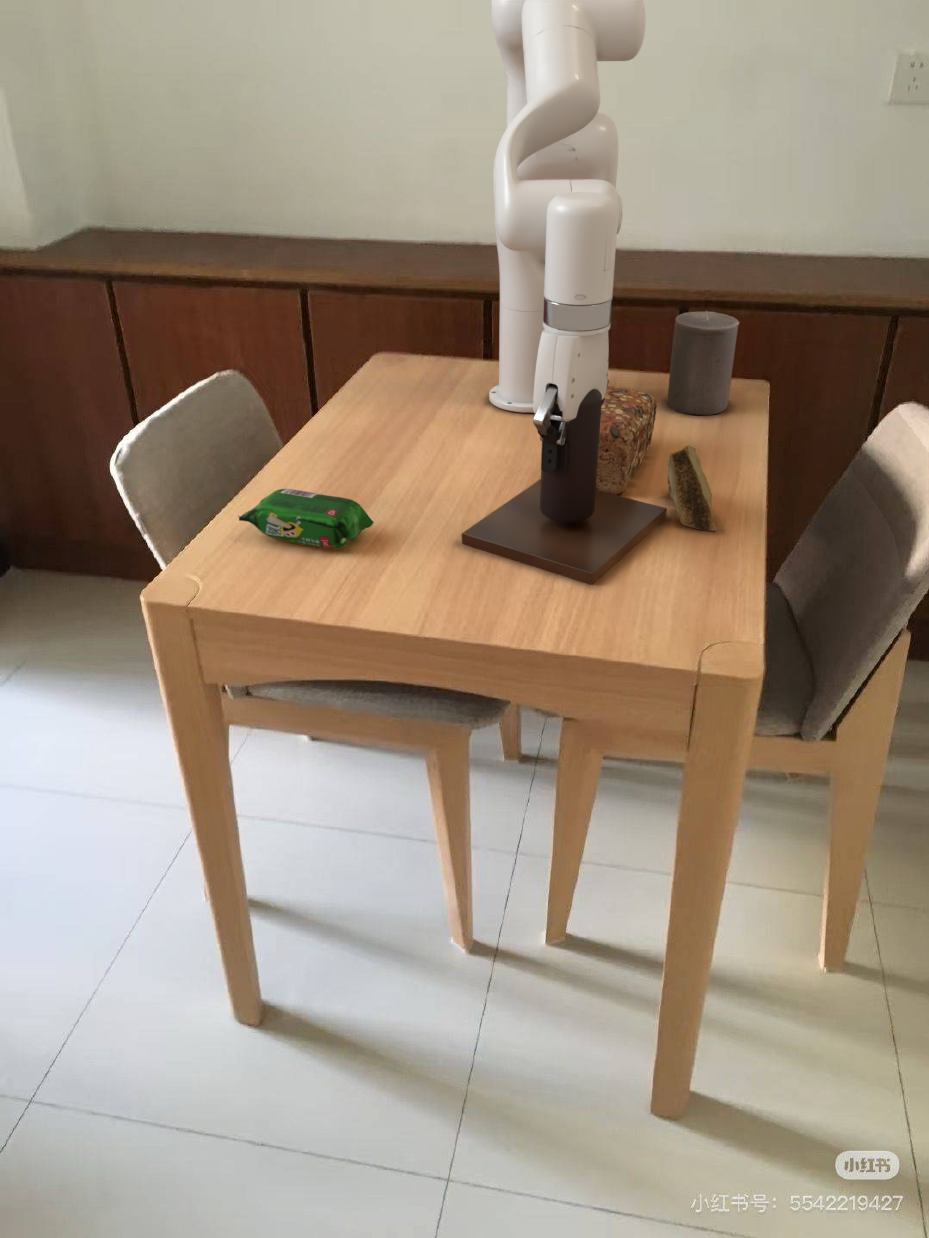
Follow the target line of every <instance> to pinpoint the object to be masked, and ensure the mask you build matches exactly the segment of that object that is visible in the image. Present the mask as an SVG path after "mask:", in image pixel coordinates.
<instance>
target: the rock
mask: <svg viewBox="0 0 929 1238" xmlns="http://www.w3.org/2000/svg"><path fill="white" fill-rule="evenodd" d="M698 455H699V454H697V450H696V447H694V446H692V445H691V444H687V445H686V446H685V447H683V448H682V449H680V450H678V451H675V452H672V453H669V457H668V458H669V459H668V461H667V486H668V493H669V496H670V498H671V499H672V501H673V504H674V506H675V508H676V513H677V515H678V518H679V521H680V524H682V525H683V526H686V527H689V528H693V529H696V530H700V531H711V532H717V530H718V528H717V526H715V516H714V513H713V503H712V502H713V494H712V490H711V488H710V486H709V483H708V480H707V479H708V478H707V476H706V475H705V472H704V471H703V468H702V463H701V460H700V457H699V456H698Z"/></svg>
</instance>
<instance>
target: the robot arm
mask: <svg viewBox="0 0 929 1238" xmlns="http://www.w3.org/2000/svg"><path fill="white" fill-rule="evenodd" d="M644 3H645V2H644V0H491V3H490V15H491V25H492V31H493V35H494V38H495V42H496V45H497V48H498V51H499V54H500V57H501V59H502V63H503V66H504V71H505V74H506V75H505V76H506V87H507V90H506V91H507V92H506V129H505V131H504V132H503V134H502V136H501V138H500V141H499V143H498V146H497V149H496V152H495V156H494V161H493V170H492V181H493V182H492V183H493V203H494V205H493V207H494V208H493V209H494V235H495V241H496V249H497V259H498V269H499V271H498V274H499V328H498V329H499V338H498V339H499V341H498V344H499V345H498V347H499V348H498V349H499V350H498V384H497V385H495V386H493V387H492V388H491V389H490V390H489V391H488V392H489V393H488V399H489V402H490V403H491V404H492V405H493V406H494V407H496V408H499V409H501V410H504V411H509V412H514V413H523V414H524V413H526V414H529V413H530V414H532V413H533V414H534V417H533V418H532V423H533V426H534V427H535V428H536V430H537V434H538V435H539V440H540V442H541V455H540V456H541V460H540V470H541V469H542V471H544V472H548V473H552V474H555V475H559V476H564V475H565V474H566V473H567V459H568V443H565V439H566V436H567V432H568V428H569V422H570V420H573V419H574V418H576V416H577V412H578V408H579V405H580V403H581V402H582V400H583V399H584V397H585V396H586V395H587V393H588V392H589V391H591V390H592V389H598V390H599V392H600V393H601V395H602V404H603V403H604V400H605V399H604V397H605V394H606V390H607V387H608V386H609V384H610V380H609V359H610V358H609V355H610V354H609V353H610V348H609V347H610V346H609V342H610V341H609V338H610V337H609V331H610V329H611V324H612V323H611V322H612V309H613V308H612V307H613V295H614V279H615V267H616V266H615V265H616V263H615V262H616V250H617V239H618V236H617V235H618V234H619V233H620V231H621V228H622V222H623V199H622V196H621V195H620V194H618V191H617V177H618V165H619V137H618V136H619V135H618V130H617V126H616V124H615V122H614V119H612V118H611V117H610V116H609V115H608V114H605V113H604V112H603V113H602V112H599V109H600V105H601V91H600V90H601V89H600V81H599V69H598V62H628V61H631V60H633V59H634V58H636V57H637V55H638V54H639V53H640V51H641V48H642V46H643V43H644V38H645V33H646V21H647V20H646V10H645V4H644ZM556 404H558V405H559V408H560V411H563V416H558V415H553V414H552V412H553V410H554V408H555V406H556ZM601 407H602V405H601ZM601 416H602V413H601ZM552 420H554V421H559V422H561V425H560V429H559V432H558V431H557V429H556V428H555V427H554V426H551V425H552Z"/></svg>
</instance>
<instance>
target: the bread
mask: <svg viewBox="0 0 929 1238" xmlns="http://www.w3.org/2000/svg"><path fill="white" fill-rule="evenodd" d="M604 399H605V400H604V403H603V404H602V407H601V413H602V416H601V420H600V434H599V449H598V464H597V479H596V490H599V491H603V492H607V493H611V494H615V495H619V494H621V493H624V492H625V490H626V488H627V485H628V484H629V483H630V482H631V480H632V479H633V478H634V476H635V474H636V473H637V470H638V469H639V468H640V466H641V465H642V462H643V459H644V458H645V456H647V455H646V454H647V452H648V450H649V448H650V445H651V443H652V438H653V432H654V429H655V421H656V415H657V407H658V406H657V400H656V398H655V397H654V396H653V395H651V394H649V393H648V392H645V391H639V390H636V389H633V388H626V387H622V386H609V385H608V387H607V390H606V394H605V397H604Z"/></svg>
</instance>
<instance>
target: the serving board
mask: <svg viewBox="0 0 929 1238" xmlns="http://www.w3.org/2000/svg"><path fill="white" fill-rule="evenodd" d="M540 489H541V478H540V479H538V480H537V481H536V482H534V483H533V484H531V485H529V486H528V487H527V488H525V489H524V490H523V491H521V492H519V493H518V494H517V495H515V496H513V498H511V499H509V500H508V501H506V502H505V503H504V504H502V505H501V506H499V507H497V508H496V509H495V510H493V511H491V513H489V514H487V515H486V516H485V517H483V518H482V519H480V520H479V521H478V522H476V523H475V524H473V525H472V526H470V527H469V528H467V529H466V530H464V531H463V532H462V533H461V544H462V545H465V546H468V547H471V548H474V549H476V550H477V549H478V550H481V551H483V552H487V553H490V554H494V555H496V556H500V557H503V558H507V559H510V560H513V561H515V562H519V563H522V564H525V565H527V566H528V565H529V566H531V567H535V568H537V569H540V570H544V571H548V572H551V573H554V574H557V575H561V576H562V577H563V576H564V577H567V578H569V579H573V580H576V581H578V582H582V583H584V584H589V585H593V584H595V582H597V581H598V580H599V579H600V578H601V577H602V576H604V575H605V574H606V573H607V572H608V571H609V570H610V569H611V568H613V566H614V565H616V564H617V563H618V562H619V561H621V560H622V559H623V558H624V557H625V556H626V555H627V554H628V553H630V552H631V551H632V550H633V549H634V548H635V547H636V546H638V544H640V543H641V542H642V541H643V540H644V539H645V538H646V537H647V536H648V535H649V534H651V533H652V532H653V530H655V529H656V528H658V526H659V525H661V524H662V523H663V522H664V521H665V520H667V515H668V512H667V511H668V508H667V507H663V506H659V505H656V504H652V503H648V502H644V501H641V500H637V499H633V498H630V497H626V496H622V495H619V494H611V493H607V492H603V491H599V490H596V494H595V509H594V513H593V514H592V515H591V516H590V517H589V518H587V519H585V520H582V521H578V522H559V521H554V520H552V519H549V518H547V517H546V516H545V515H543V514H542V512H541V510H540Z"/></svg>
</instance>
